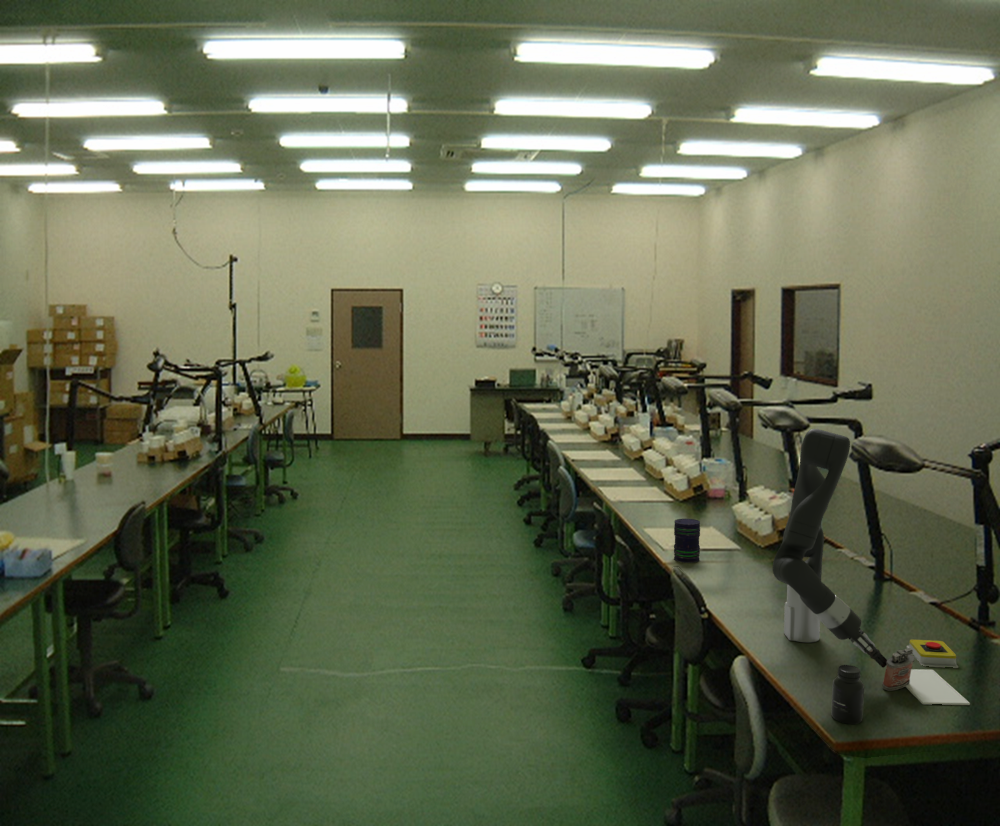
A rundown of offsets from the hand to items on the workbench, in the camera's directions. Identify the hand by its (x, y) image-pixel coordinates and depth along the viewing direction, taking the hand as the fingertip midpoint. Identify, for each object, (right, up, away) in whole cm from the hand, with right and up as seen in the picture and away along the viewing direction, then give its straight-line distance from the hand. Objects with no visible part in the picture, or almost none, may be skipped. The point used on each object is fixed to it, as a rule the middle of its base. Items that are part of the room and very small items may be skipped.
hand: (885, 664), depth 218 cm
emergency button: (+22, -4, +20) cm, 30 cm away
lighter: (+3, -5, 0) cm, 6 cm away
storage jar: (-24, +6, +118) cm, 121 cm away
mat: (+11, -6, 0) cm, 12 cm away
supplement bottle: (-16, -8, -16) cm, 24 cm away
